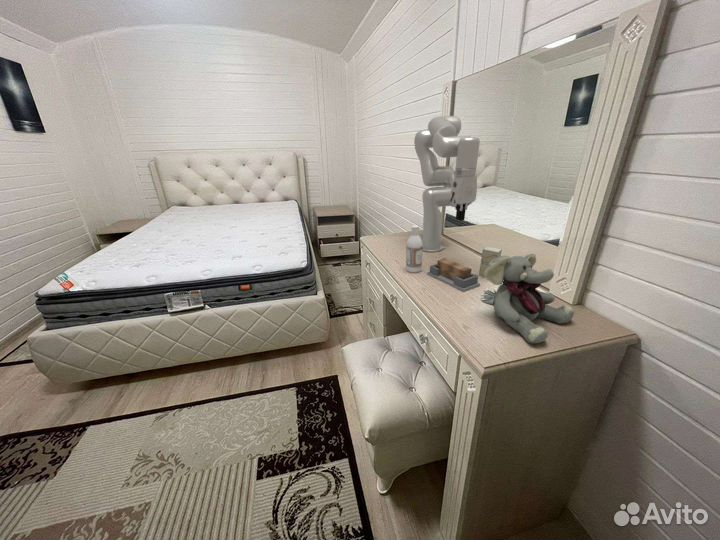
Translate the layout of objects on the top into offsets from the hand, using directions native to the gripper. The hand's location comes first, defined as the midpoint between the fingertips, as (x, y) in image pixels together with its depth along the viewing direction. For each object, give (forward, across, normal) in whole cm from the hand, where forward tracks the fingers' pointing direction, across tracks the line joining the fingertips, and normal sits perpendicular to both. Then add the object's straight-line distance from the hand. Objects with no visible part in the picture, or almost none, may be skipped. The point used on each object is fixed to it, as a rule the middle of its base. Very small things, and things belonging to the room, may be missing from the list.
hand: (459, 219), depth 119 cm
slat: (+21, -8, -7) cm, 24 cm away
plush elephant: (+21, -10, -38) cm, 45 cm away
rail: (+22, -8, -7) cm, 25 cm away
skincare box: (+22, +6, -13) cm, 27 cm away
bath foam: (+23, -15, +10) cm, 29 cm away
